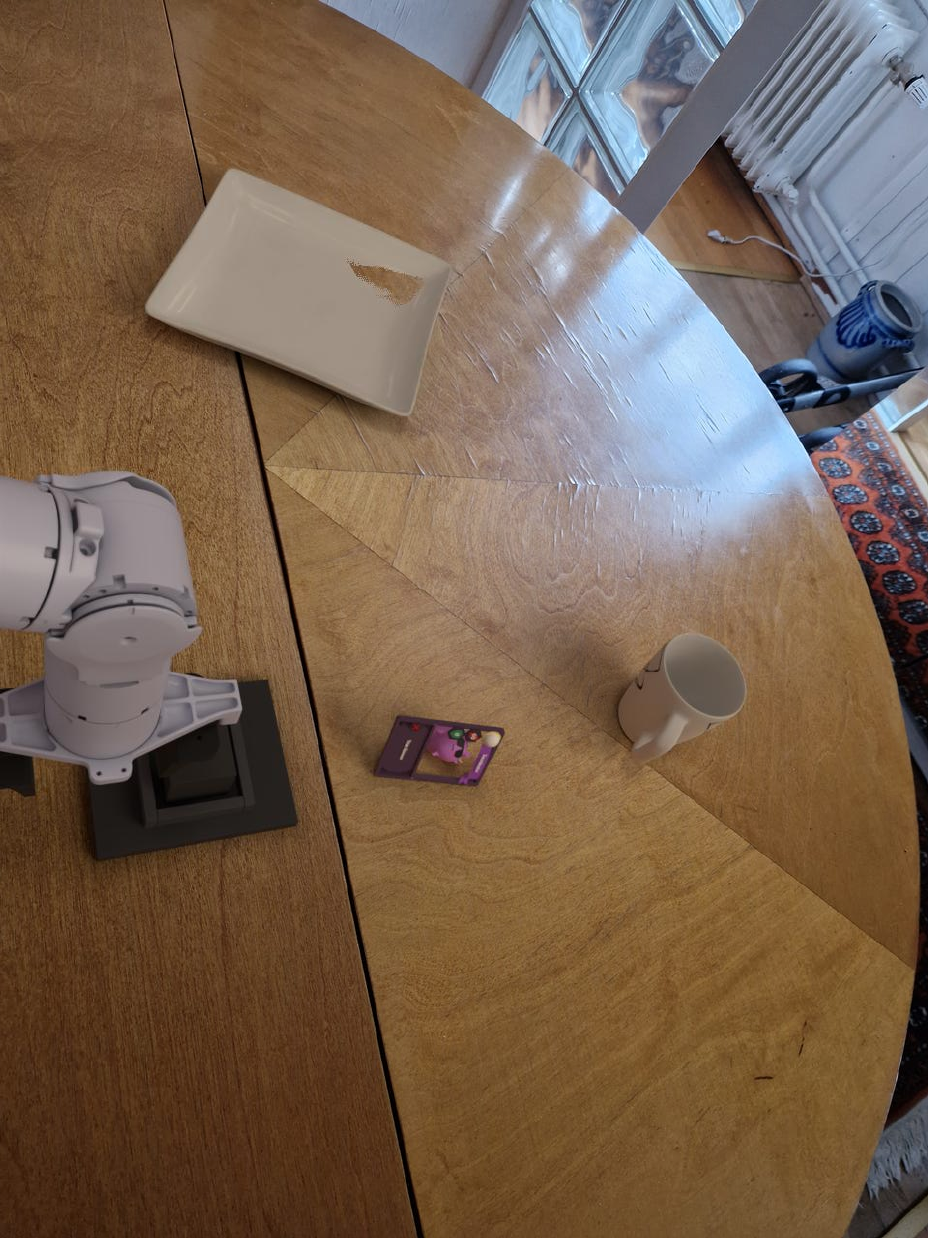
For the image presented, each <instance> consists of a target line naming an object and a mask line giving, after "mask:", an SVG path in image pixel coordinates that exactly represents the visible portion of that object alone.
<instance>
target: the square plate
mask: <svg viewBox="0 0 928 1238" xmlns="http://www.w3.org/2000/svg"><path fill="white" fill-rule="evenodd" d="M347 259H348V260H347ZM353 260H354V261H353ZM348 261H349V262H348ZM350 261H351V262H350ZM347 262H348V263H347ZM352 262H354V266H355V264H356V266H359V265H362V266H370V267H371V266H372V267H373V266H374V267H375V266H377V267H378V266H379V267H382V268H383V267H384V269H386V268H387V269H388V270H392V271H393V270H394V271H393V272H398V271H399V272H398V273H400V274H401V273H403V274H404V273H405V275H406V274H407V275H410V276H411V275H412V276H413V277H416V276H418V277H419V279H420V278H423V280H422V281H424V282H423V283H424V285H423V287H420V288H422V289H419V291H418V292H416V293H415V294H413V295H416V296H413V299H411V300H410V302H409V301H408V302H407V304H404V305H400V304H401V303H400V304H399V303H398V304H399V306H400V307H399V306H398V305H397V306H396V304H397V303H396V304H395V302H396V301H395V302H394V300H395V299H394V300H393V299H392V300H393V302H394V304H393V302H392V300H391V298H392V297H391V298H390V296H389V295H390V294H391V292H390V293H389V291H390V290H389V291H388V290H387V288H386V289H385V288H384V289H383V290H385V291H384V292H383V290H382V289H381V290H380V288H381V287H380V288H379V287H378V288H377V286H374V285H375V284H374V283H373V282H372V283H373V284H372V283H371V282H366V280H365V281H364V279H365V278H364V279H363V278H362V277H357V276H356V274H355V273H354V271H353V269H352V268H351V266H350V264H349V263H352ZM358 263H359V264H358ZM352 265H353V264H352ZM377 267H376V268H377ZM379 267H378V268H379ZM387 269H386V271H387ZM452 272H453V266H452V263H450V262H449V261H447V260H446V259H444V258H441V257H439V256H438V255H437V256H436V255H435V254H433V253H430V252H428V251H426V250H423V249H421V248H419V247H417V246H415V245H412V244H411V243H408V242H406V241H404V240H401V239H400V238H398V237H395V236H393V235H392V234H389V233H387V232H385V231H382V230H380V229H378V228H376V227H374V226H371V225H369V224H366V223H365V222H362V221H360V220H358V219H355V218H354V217H351V216H348V215H346V214H344V213H342V212H340V211H337V210H335V209H333V208H332V207H331V208H330V207H328V206H326V205H323V204H321V203H319V202H317V201H314V200H312V199H309V198H308V197H305V196H302V195H301V194H298V193H297V192H294V191H291V190H289V189H286V188H285V187H282V186H280V185H277V184H275V183H272V182H270V181H267V180H265V179H263V178H261V177H258V176H255V175H253V174H251V173H248V172H246V171H244V170H241V169H239V168H234V167H229V168H228V169H227V170H226V171H225V172H224V174H223V175H222V177H221V178H220V180H219V182H218V184H217V185H216V187H215V189H214V191H213V193H212V195H211V196H210V198H209V199H208V202H207V204H206V205H205V208H204V209H203V211H202V213H201V214H200V216H199V217H198V219H197V221H196V223H195V224H194V226H193V227H192V229H191V231H190V232H189V234H188V235H187V237H186V238H185V240H184V242H183V243H182V245H181V247H180V248H179V250H178V251H177V253H176V254H175V256H174V258H173V259H172V260H171V263H169V265H168V266H167V268H166V270H165V271H163V274H162V276H161V277H160V279H159V280H158V282H157V283H156V285H155V286H154V288H153V289H152V291H151V293H150V295H148V298H147V300H146V302H145V303H144V311H145V313H146V314H147V315H148V316H150V317H152V318H154V319H155V320H158V321H160V322H162V323H164V324H166V325H167V326H170V327H172V328H174V329H176V330H179V331H181V332H184V333H186V334H189V335H190V336H193V337H196V338H199V339H200V340H203V341H206V342H210V343H212V344H215V345H218V346H220V347H224V348H225V349H229V350H232V351H235V352H237V353H240V354H243V355H246V356H248V357H250V358H254V359H256V360H258V361H261V362H263V363H267V364H268V365H271V366H274V367H276V368H278V369H282V370H283V371H285V372H287V373H290V374H293V375H295V376H298V377H300V378H303V379H305V380H308V381H310V382H313V383H315V384H317V385H319V386H321V387H324V388H326V389H327V390H328V389H329V390H330V391H333V392H335V393H337V394H339V395H342V396H344V397H347V398H349V399H350V400H353V401H355V402H357V403H360V404H363V405H366V406H368V407H371V408H374V409H377V410H379V411H382V412H385V413H389V414H393V415H396V416H400V417H409V416H411V414H412V412H413V410H414V408H415V404H416V401H417V397H418V393H419V389H420V385H421V381H422V376H423V372H424V367H425V362H426V360H427V359H426V358H427V354H428V351H429V347H430V343H431V339H432V336H433V333H434V329H435V325H436V322H437V318H438V316H439V312H440V311H441V306H442V304H443V300H444V298H445V296H446V293H447V289H448V287H449V284H450V282H451V278H452ZM359 274H360V273H359ZM358 276H359V275H358ZM360 276H361V275H360ZM363 277H364V276H363ZM365 277H366V276H365ZM418 277H417V278H418ZM359 278H360V279H359ZM361 278H362V279H361ZM366 279H367V278H366ZM368 279H369V278H368ZM362 280H363V281H362ZM367 281H368V280H367ZM369 281H370V280H369ZM368 283H369V284H368ZM370 283H371V284H370ZM373 287H374V288H373ZM375 287H376V288H375ZM374 289H375V290H374ZM376 289H377V290H376ZM378 289H379V290H378ZM386 290H387V291H386ZM379 291H380V292H379ZM381 291H382V292H381ZM416 291H417V290H416ZM387 292H388V293H387ZM382 293H383V294H382ZM392 293H393V292H392ZM388 294H389V295H388ZM376 295H377V296H376ZM378 295H379V296H378ZM380 295H381V297H382V295H383V297H384V296H385V295H386V296H387V295H388V296H389V298H390V300H391V301H390V300H389V298H388V297H384V299H383V297H382V298H381V297H380ZM391 295H392V294H391ZM393 295H394V294H393ZM379 297H380V298H379ZM386 298H388V299H386ZM397 302H398V301H397ZM405 303H406V302H405ZM402 304H403V303H402ZM394 305H395V306H394ZM395 307H396V308H395Z"/></svg>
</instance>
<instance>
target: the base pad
mask: <svg viewBox="0 0 928 1238" xmlns="http://www.w3.org/2000/svg"><path fill="white" fill-rule="evenodd" d="M237 685H238V690H239V695H240V700H241V705H242V711H241V714H240V716H239V719H238V721H237V723H235V724H227V726H228V732H229V737H230V743H231V748H232V753H233V759H234V764H235V769H236V777H235V779H234V781H233V783H232V786H231V788H230V790H229V792H228V794H226V795H220V796H213V797H207V798H200V799H194V800H188V801H181V802H175V803H169V804H165V803H164V796H163V790H162V783H161V778H159V777H158V770H157V763H156V756H155V750H154V749H153V750H151V751H149V752H147V753H145V754H143V755H141V756H139V757H137V758H135V759H133V761H132V773H131V776H130V778H129V779H128V780H126V781H123V782H116V783H109V784H102V785H97V784H94V783H92V782H91V780H90V778H89V772H88V769H87V768H86V767H85V769H86V779H87V786H88V787H87V789H88V797H89V806H90V814H91V824H92V832H93V833H92V834H93V842H94V850H95V860H96V862H104V861H109V860H110V861H111V860H114V859H120V858H125V857H131V856H138V855H143V854H148V853H155V852H160V851H164V850H170V849H176V848H181V847H188V846H193V845H198V844H204V843H209V842H210V843H211V842H215V841H220V840H225V839H231V838H236V837H237V838H238V837H243V836H248V835H254V834H259V833H265V832H270V831H276V830H282V829H286V828H292V827H296V826H297V824H298V823H299V820H298V814H297V810H296V805H295V801H294V795H293V791H292V786H291V781H290V776H289V773H288V767H287V762H286V757H285V753H284V748H283V744H282V743H283V742H282V739H281V735H280V729H279V724H278V720H277V716H276V711H275V710H276V709H275V705H274V702H273V697H272V691H271V688H270V682H269V679H257V680H248V681H237Z"/></svg>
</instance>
